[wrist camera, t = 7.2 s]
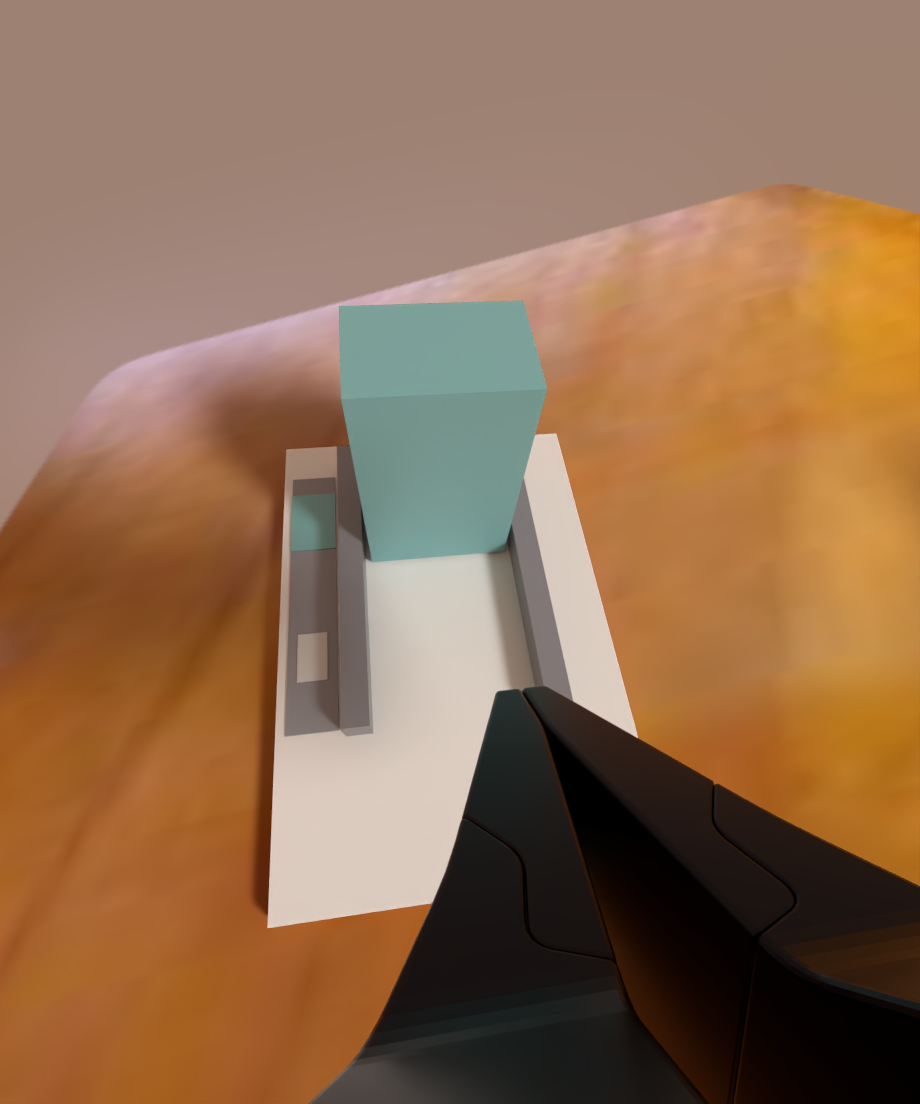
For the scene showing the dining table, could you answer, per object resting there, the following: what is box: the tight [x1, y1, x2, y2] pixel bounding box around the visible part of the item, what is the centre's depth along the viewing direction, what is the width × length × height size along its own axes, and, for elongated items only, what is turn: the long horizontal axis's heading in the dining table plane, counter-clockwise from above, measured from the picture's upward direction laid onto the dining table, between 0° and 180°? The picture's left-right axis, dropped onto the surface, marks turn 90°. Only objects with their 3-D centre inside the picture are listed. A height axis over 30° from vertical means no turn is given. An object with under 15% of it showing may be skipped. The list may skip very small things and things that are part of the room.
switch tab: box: [339, 301, 547, 562], centre depth 21 cm, size 4×6×10 cm, turn 97°
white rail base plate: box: [268, 434, 638, 928], centre depth 23 cm, size 20×14×2 cm
